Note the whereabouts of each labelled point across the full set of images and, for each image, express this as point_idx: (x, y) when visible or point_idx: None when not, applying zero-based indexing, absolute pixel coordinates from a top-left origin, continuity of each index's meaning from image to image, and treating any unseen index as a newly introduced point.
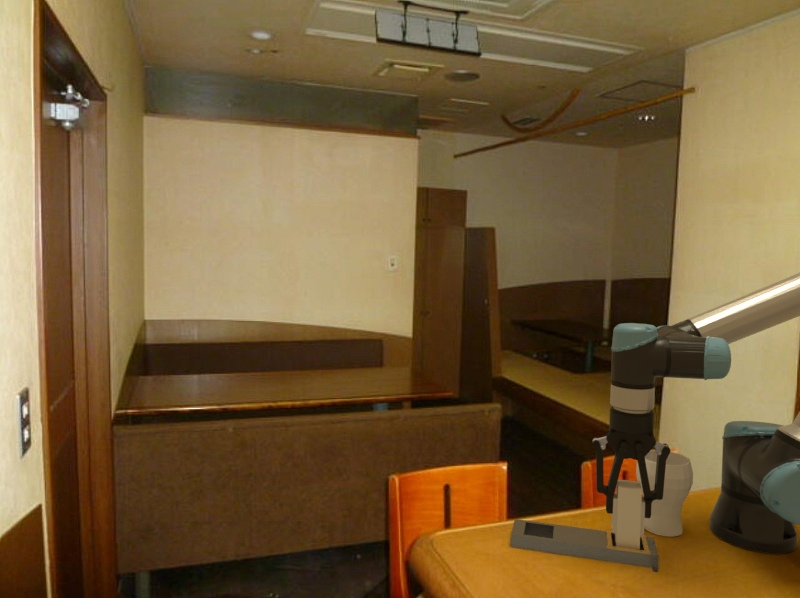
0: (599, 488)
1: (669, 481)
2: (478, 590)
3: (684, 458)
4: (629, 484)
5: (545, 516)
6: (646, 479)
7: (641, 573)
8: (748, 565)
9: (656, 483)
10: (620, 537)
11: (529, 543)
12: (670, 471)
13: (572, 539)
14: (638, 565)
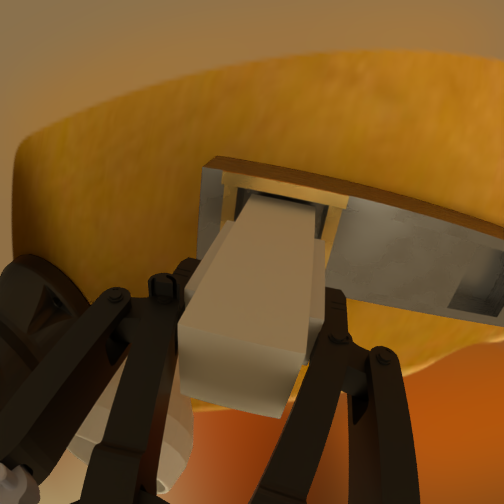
0: (389, 363)
1: (107, 401)
2: None
3: (75, 450)
4: (232, 378)
5: (405, 373)
6: (133, 372)
7: (261, 143)
8: (53, 214)
9: (98, 347)
10: (302, 221)
11: None
12: (93, 424)
13: (431, 242)
14: (263, 166)
